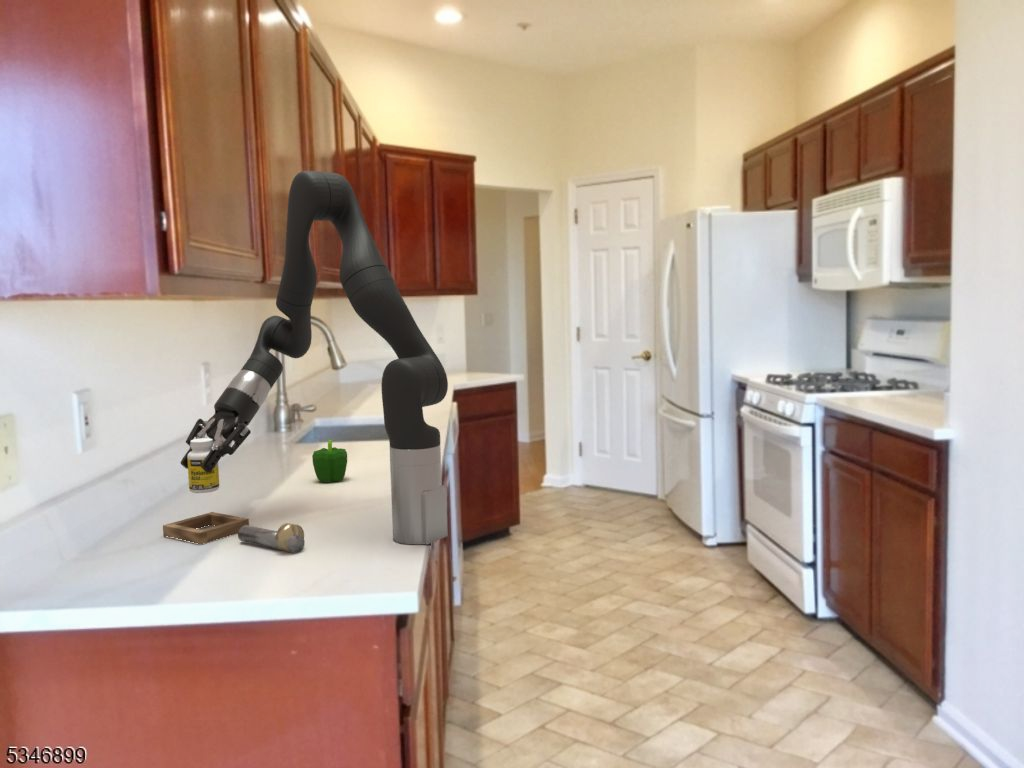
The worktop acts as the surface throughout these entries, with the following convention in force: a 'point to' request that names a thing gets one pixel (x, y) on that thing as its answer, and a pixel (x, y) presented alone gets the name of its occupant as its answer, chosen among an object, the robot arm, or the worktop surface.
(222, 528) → the collar block
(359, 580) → the worktop surface
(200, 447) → the supplement bottle
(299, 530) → the shaft
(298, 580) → the worktop surface
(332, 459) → the bell pepper
